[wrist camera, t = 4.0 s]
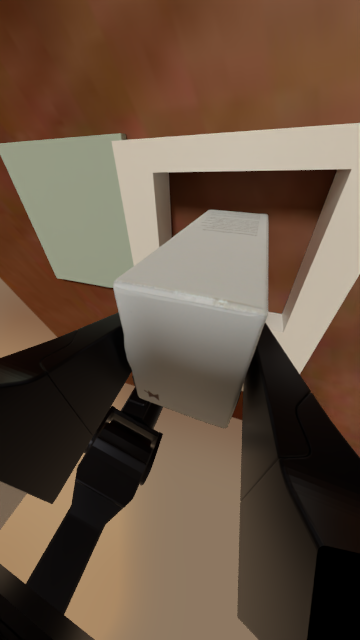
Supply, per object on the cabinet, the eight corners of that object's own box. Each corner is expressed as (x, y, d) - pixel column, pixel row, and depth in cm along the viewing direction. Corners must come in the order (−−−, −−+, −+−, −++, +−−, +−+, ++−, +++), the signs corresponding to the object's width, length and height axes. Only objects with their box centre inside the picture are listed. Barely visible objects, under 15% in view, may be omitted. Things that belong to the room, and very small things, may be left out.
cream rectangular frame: (281, 382, 22) (282, 408, 20) (159, 350, 26) (149, 368, 24) (416, 125, 9) (465, 112, 7) (133, 143, 13) (105, 140, 11)
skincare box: (250, 290, 17) (227, 434, 8) (201, 282, 18) (134, 399, 9) (272, 210, 13) (274, 315, 4) (208, 205, 14) (102, 280, 5)
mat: (148, 290, 20) (145, 293, 20) (60, 275, 24) (56, 277, 23) (125, 134, 13) (120, 133, 13) (3, 144, 16) (-5, 143, 16)
